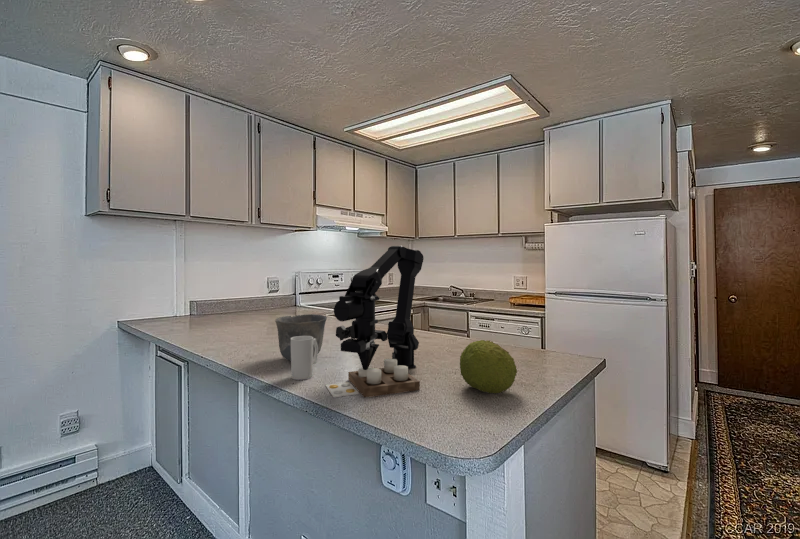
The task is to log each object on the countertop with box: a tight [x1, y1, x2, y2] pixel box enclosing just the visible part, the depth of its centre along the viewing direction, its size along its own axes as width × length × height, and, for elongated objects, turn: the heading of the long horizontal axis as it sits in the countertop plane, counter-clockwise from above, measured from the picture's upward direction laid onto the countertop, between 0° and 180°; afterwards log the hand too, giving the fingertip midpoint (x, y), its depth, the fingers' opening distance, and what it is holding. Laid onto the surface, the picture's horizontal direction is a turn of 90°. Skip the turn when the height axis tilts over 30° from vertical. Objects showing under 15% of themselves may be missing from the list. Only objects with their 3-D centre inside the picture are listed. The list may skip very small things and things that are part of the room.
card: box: [325, 381, 360, 399], centre depth 109 cm, size 7×10×1 cm
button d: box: [367, 367, 381, 384], centre depth 108 cm, size 4×4×3 cm
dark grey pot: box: [274, 313, 327, 362], centre depth 140 cm, size 18×18×15 cm
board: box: [347, 367, 421, 399], centre depth 113 cm, size 16×16×2 cm
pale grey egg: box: [383, 358, 397, 373], centre depth 118 cm, size 4×4×3 cm
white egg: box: [357, 367, 371, 378], centre depth 115 cm, size 4×4×3 cm
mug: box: [290, 336, 319, 381], centre depth 122 cm, size 10×7×12 cm, turn 147°
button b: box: [394, 365, 409, 381], centre depth 111 cm, size 4×4×3 cm
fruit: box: [459, 339, 518, 394], centre depth 109 cm, size 16×14×15 cm
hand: (365, 369), depth 115 cm, fingers closed, pressing on white egg
